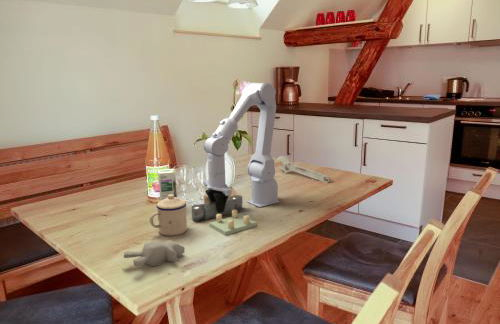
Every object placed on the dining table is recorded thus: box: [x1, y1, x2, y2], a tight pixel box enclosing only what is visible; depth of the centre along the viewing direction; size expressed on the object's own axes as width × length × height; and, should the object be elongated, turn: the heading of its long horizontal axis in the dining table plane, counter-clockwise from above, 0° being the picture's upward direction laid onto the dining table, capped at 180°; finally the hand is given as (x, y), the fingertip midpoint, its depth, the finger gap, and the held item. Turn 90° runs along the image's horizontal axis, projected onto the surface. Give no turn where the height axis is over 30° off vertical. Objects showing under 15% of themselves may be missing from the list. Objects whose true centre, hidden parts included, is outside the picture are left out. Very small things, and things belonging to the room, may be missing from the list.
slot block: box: [203, 194, 232, 204], centre depth 149 cm, size 8×8×3 cm
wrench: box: [276, 155, 332, 184], centre depth 183 cm, size 8×2×30 cm
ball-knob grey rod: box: [191, 194, 244, 223], centre depth 138 cm, size 20×4×5 cm, turn 127°
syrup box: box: [157, 168, 178, 201], centre depth 143 cm, size 6×6×14 cm
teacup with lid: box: [149, 194, 188, 236], centre depth 123 cm, size 12×9×12 cm
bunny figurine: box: [123, 239, 185, 268], centre depth 105 cm, size 10×5×15 cm
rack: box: [209, 210, 258, 236], centre depth 128 cm, size 12×9×4 cm
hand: (218, 210), depth 138 cm, fingers closed on ball-knob grey rod, 3 cm apart
